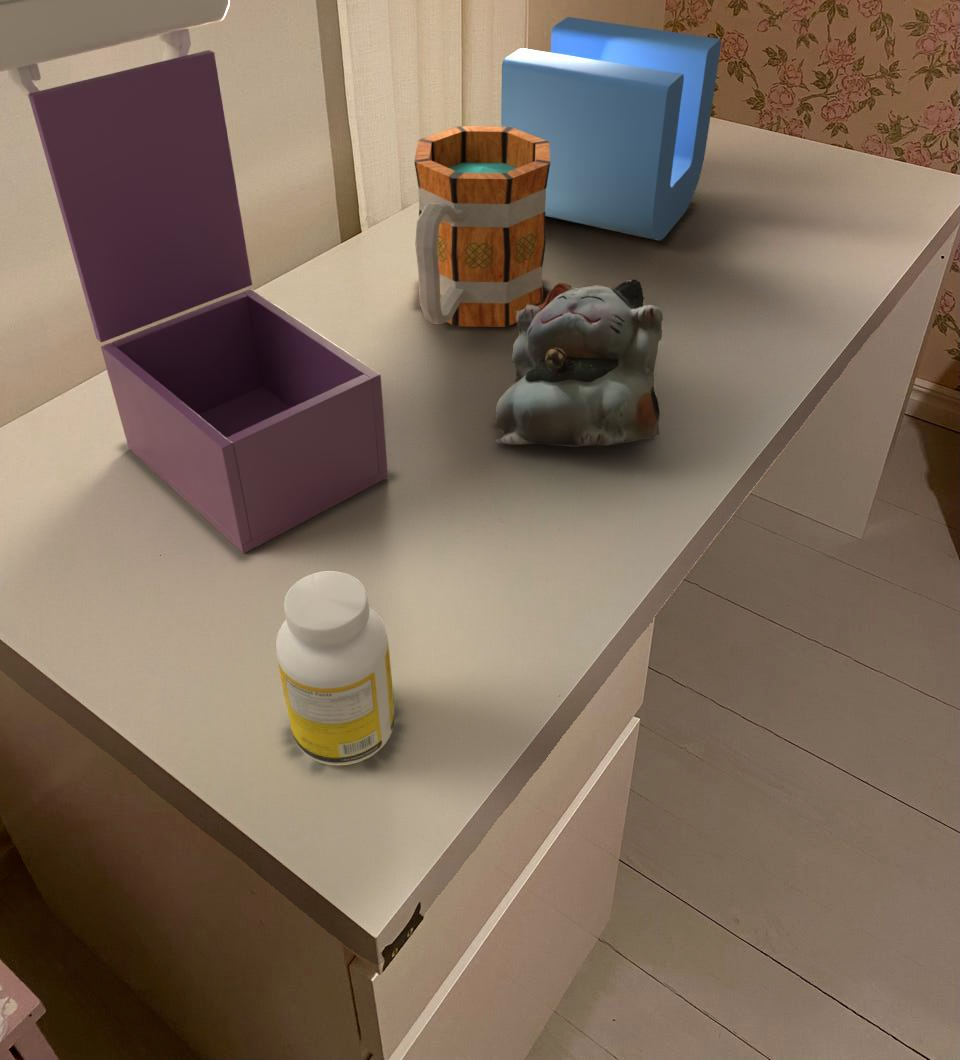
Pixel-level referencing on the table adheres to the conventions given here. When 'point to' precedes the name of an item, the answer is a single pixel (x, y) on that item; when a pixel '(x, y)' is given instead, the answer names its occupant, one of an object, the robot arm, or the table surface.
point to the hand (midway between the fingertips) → (114, 109)
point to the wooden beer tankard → (480, 224)
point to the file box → (249, 415)
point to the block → (616, 120)
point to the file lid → (146, 190)
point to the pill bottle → (335, 669)
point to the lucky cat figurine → (584, 369)
